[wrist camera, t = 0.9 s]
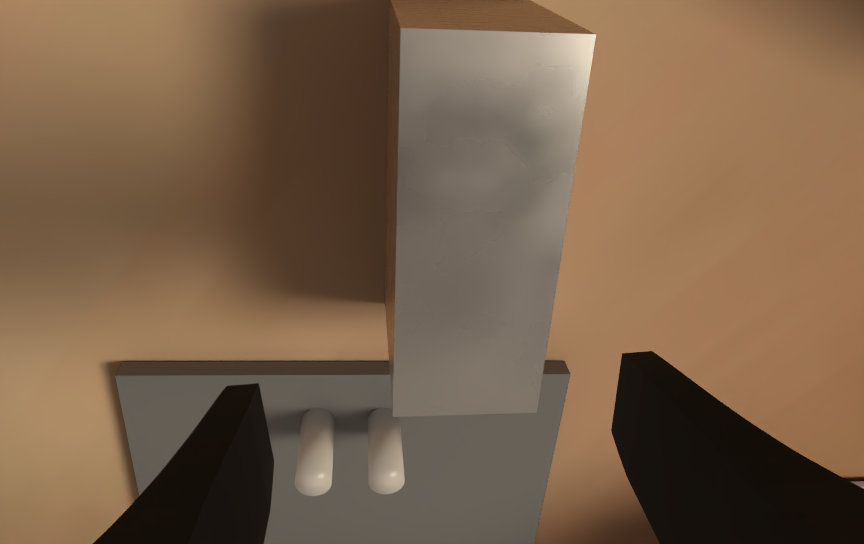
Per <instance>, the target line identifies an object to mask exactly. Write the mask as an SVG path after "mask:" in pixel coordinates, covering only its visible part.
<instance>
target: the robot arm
mask: <svg viewBox="0 0 864 544" xmlns="http://www.w3.org/2000/svg"><path fill="white" fill-rule="evenodd" d="M611 431H612V434H613V437H614V440H615V444H616V447H617V450H618V453H619V456H620V459H621V461H622V464H623V467H624V470H625V473H626V475H627V478H628V480H629V482H630V484H631V486H632V488H633V490H634V492H635V494H636V496H637V498H638V500H639V502H640V504H641V506H642V508H643V511H644V513H645V515H646V517H647V519H648V521H649V523H650V524H651V526H652V528H653V530H654V532H655V534H656V536H657V538H658V540H659V542H660V544H864V481H854V482H850V481H848V480H846V479H844V478H842V477H840V476H838V475H837V474H835V473H833V472H831V471H829V470H827V469H826V468H824V467H822V466H820V465H818V464H817V463H815V462H813V461H811V460H809V459H808V458H806V457H804V456H802V455H801V454H799V453H797V452H796V451H794V450H792V449H791V448H789V447H787V446H786V445H784V444H783V443H781V442H780V441H778V440H776V439H775V438H773V437H772V436H770V435H769V434H767V433H766V432H764V431H762V430H761V429H759V428H758V427H756V426H755V425H753V424H752V423H750V422H749V421H747V420H746V419H744V418H743V417H741V416H740V415H739V414H737V413H736V412H734V411H733V410H731V409H730V408H729V407H727V406H726V405H724V404H723V403H722V402H720V401H719V400H718V399H716V398H715V397H713V396H712V395H711V394H709V393H708V392H707V391H705V390H704V389H703V388H701V387H700V386H699V385H697V384H696V383H695V382H693V381H692V380H691V379H689V378H688V377H687V376H685V375H684V374H683V373H681V372H680V371H679V370H677V369H676V368H675V367H673V366H672V365H671V364H669V363H668V362H666V361H665V360H664V359H662V358H661V357H660V356H658V355H657V354H655V353H654V352H652V351H648V352H635V353H623V354H622V359H621V366H620V373H619V380H618V387H617V394H616V401H615V409H614V416H613V423H612V430H611ZM273 472H274V457H273V452H272V447H271V442H270V437H269V432H268V427H267V422H266V417H265V412H264V407H263V401H262V396H261V391H260V386H259V383H256V384H243V385H231V386H226V387H225V388H224V390H223V391H222V392H221V393H220V395H219V396H218V397H217V399H216V400H215V401H214V403H213V404H212V406H211V407H210V408H209V410H208V411H207V413H206V414H205V415H204V417H203V418H202V419H201V421H200V422H199V423H198V425H197V426H196V427H195V429H194V430H193V431H192V433H191V434H190V435H189V437H188V438H187V439H186V441H185V442H184V443H183V444H182V446H181V447H180V448H179V449H178V451H177V452H176V453H175V454H174V456H173V457H172V458H171V460H170V461H169V462H168V463H167V465H166V466H165V467H164V468H163V469H162V471H161V472H160V473H159V474H158V475H157V476H156V478H155V479H154V480H153V481H152V482H151V483H150V484H149V486H148V487H147V488H146V489H145V490H144V491H143V492H142V493H141V495H140V496H139V497H138V498H137V499H136V500H135V501H134V503H133V504H132V505H131V506H130V507H129V508H128V509H127V510H126V511H125V512H124V513H123V514H122V515H121V516H120V517H119V518H118V520H117V521H116V522H115V523H114V524H113V525H112V526H111V527H110V528H109V529H108V530H107V531H106V532H105V533H103V534H102V535H101V536H100V537H99V538H98V539H97V540H96V541H95V542H94V543H93V544H264V540H265V535H266V530H267V525H268V520H269V515H270V509H271V498H272V486H273Z"/></svg>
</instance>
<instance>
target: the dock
mask: <svg viewBox="0 0 864 544" xmlns="http://www.w3.org/2000/svg"><path fill="white" fill-rule="evenodd" d="M115 378H116V383H117V388H118V393H119V398H120V403H121V408H122V413H123V418H124V423H125V428H126V433H127V438H128V443H129V448H130V453H131V458H132V463H133V468H134V473H135V478H136V483H137V487H138V492H139V496H140V495H141V493H142V492H143V491H144V490H145V489H146V488H147V487H148V486H149V484H150V483H151V482H152V481H153V480H154V479H155V478H156V476H157V475H158V474H159V473H160V472H161V471H162V469H163V468H164V467H165V466H166V465H167V463H168V462H169V461H170V460H171V458H172V457H173V456H174V454H175V453H176V452H177V451H178V449H179V448H180V447H181V446H182V444H183V443H184V442H185V441H186V439H187V438H188V437H189V435H190V434H191V433H192V431H193V430H194V429H195V427H196V426H197V425H198V423H199V422H200V421H201V419H202V418H203V417H204V415H205V414H206V413H207V411H208V410H209V408H210V407H211V406H212V404H213V403H214V401H215V400H216V399H217V397H218V396H219V395H220V393H221V392H222V391H223V390H224V388H225V387H226V386H231V385H243V384H256V383H259V386H260V391H261V396H262V401H263V407H264V412H265V417H266V422H267V427H268V432H269V437H270V442H271V447H272V452H273V457H274V472H273V486H272V498H271V509H270V515H269V520H268V525H267V530H266V535H265V540H264V544H534V543H535V538H536V534H537V529H538V524H539V520H540V515H541V510H542V505H543V501H544V496H545V491H546V487H547V482H548V477H549V473H550V468H551V463H552V458H553V454H554V449H555V444H556V440H557V435H558V430H559V425H560V421H561V416H562V411H563V407H564V402H565V397H566V393H567V388H568V383H569V378H570V372H569V370H568V368H567V366H566V363H565V361H545V363H544V369H543V376H542V382H541V388H540V395H539V401H538V407H537V413H508V414H475V415H442V416H409V417H393V415H392V400H391V384H390V369H389V361H207V362H122V363H121V365H120V367H119V369H118V371H117V373H116V375H115Z"/></svg>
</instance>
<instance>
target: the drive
mask: <svg viewBox="0 0 864 544" xmlns="http://www.w3.org/2000/svg"><path fill="white" fill-rule="evenodd" d="M595 38H596V34H594V33H592V32H591V31H589V30H587V29H585V28H583V27H581V26H579V25H577V24H575V23H573V22H571V21H569V20H567V19H565V18H563V17H562V16H560V15H558V14H556V13H554V12H552V11H550V10H548V9H546V8H544V7H542V6H540V5H538V4H536V3H534V2H533V1H530V0H389V48H388V127H387V207H386V286H385V307H386V322H387V338H388V353H389V369H390V384H391V400H392V415H393V417H409V416H442V415H475V414H508V413H537V407H538V401H539V395H540V388H541V382H542V376H543V369H544V363H545V356H546V350H547V344H548V337H549V331H550V325H551V318H552V312H553V305H554V299H555V293H556V286H557V280H558V274H559V267H560V261H561V254H562V248H563V242H564V235H565V229H566V223H567V216H568V210H569V203H570V197H571V191H572V184H573V178H574V172H575V165H576V159H577V152H578V146H579V140H580V133H581V127H582V121H583V114H584V108H585V101H586V95H587V89H588V82H589V76H590V70H591V63H592V57H593V50H594V44H595Z"/></svg>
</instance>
